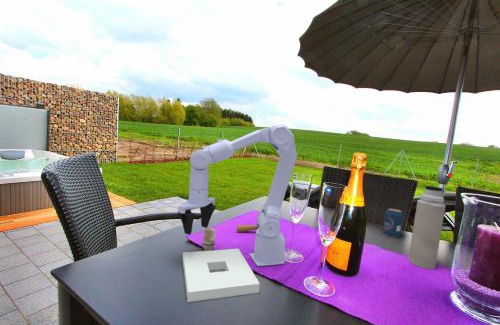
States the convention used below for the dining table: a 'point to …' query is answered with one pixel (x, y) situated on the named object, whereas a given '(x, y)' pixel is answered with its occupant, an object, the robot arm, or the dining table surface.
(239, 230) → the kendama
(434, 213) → the thermos bottle
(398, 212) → the soda can
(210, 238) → the birch peg
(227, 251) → the hole board
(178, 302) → the dining table surface
